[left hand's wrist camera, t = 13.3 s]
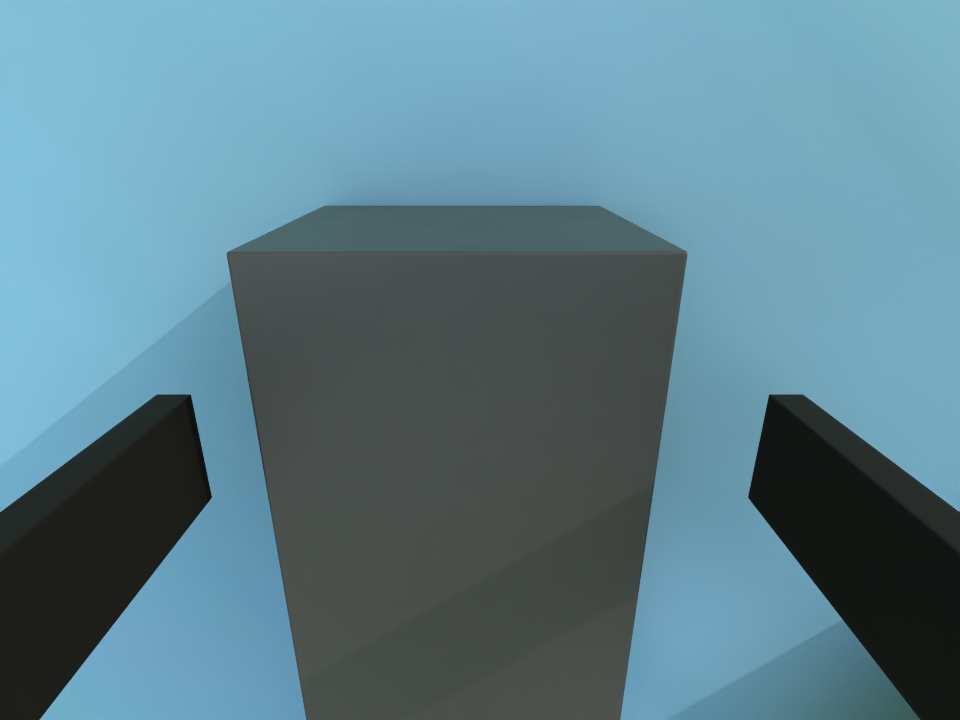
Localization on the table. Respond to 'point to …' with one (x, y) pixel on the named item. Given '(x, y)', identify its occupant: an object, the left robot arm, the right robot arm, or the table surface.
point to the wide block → (459, 450)
